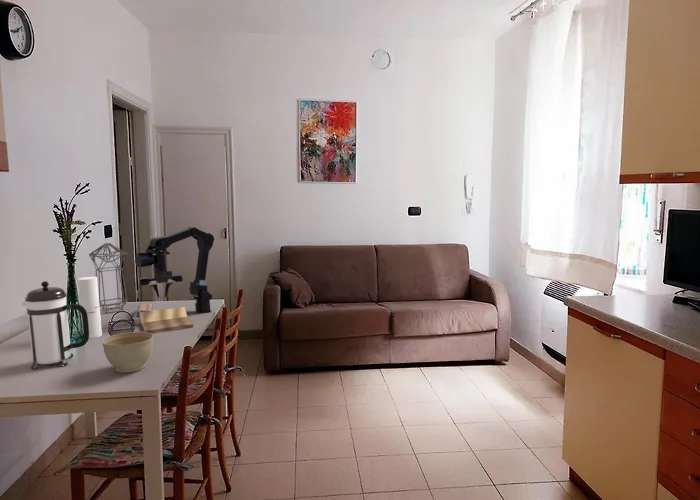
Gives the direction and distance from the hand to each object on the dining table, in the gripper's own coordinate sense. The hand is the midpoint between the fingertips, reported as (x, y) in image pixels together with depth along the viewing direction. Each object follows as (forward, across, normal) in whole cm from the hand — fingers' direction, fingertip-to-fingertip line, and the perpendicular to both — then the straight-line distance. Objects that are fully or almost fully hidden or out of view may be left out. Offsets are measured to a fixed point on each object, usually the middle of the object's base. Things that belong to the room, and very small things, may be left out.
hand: (162, 297), depth 239 cm
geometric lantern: (+11, -20, +36) cm, 43 cm away
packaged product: (+12, -7, +16) cm, 21 cm away
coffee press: (+11, -42, -41) cm, 60 cm away
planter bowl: (+11, -19, -62) cm, 66 cm away
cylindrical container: (+11, -30, -10) cm, 34 cm away
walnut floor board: (+11, 0, -12) cm, 17 cm away
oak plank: (+9, 0, -1) cm, 9 cm away
